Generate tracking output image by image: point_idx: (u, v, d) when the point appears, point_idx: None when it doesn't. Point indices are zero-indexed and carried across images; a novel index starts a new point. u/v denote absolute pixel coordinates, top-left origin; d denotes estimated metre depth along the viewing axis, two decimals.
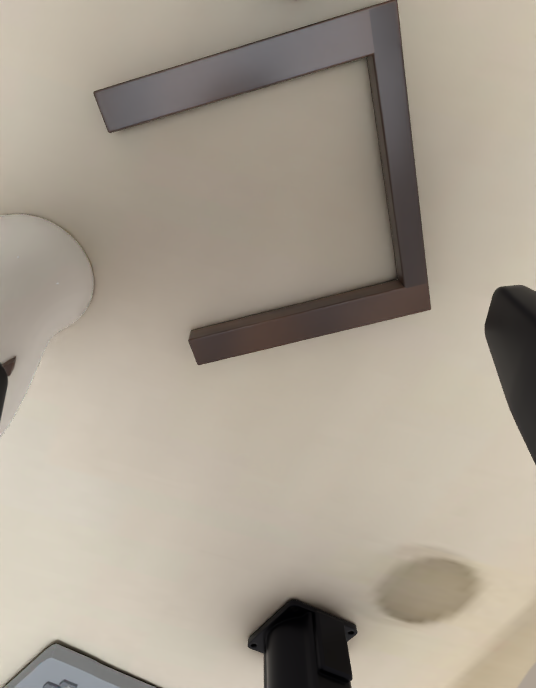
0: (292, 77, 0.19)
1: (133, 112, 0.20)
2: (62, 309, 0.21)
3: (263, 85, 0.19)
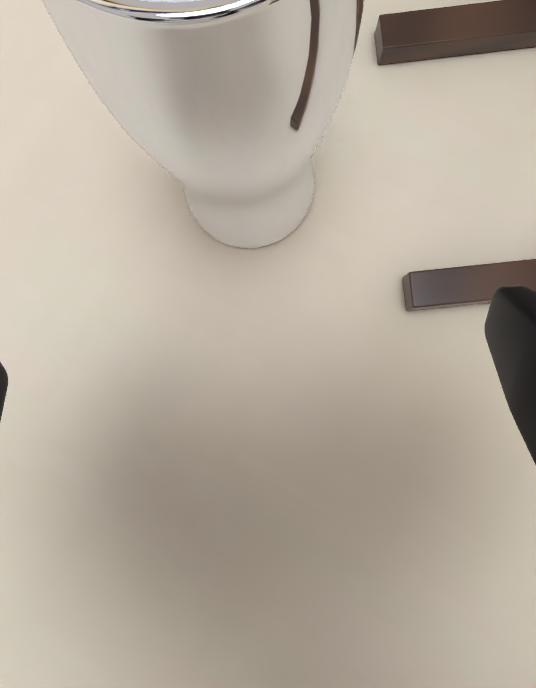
0: None
1: (411, 34, 0.21)
2: (305, 174, 0.19)
3: None
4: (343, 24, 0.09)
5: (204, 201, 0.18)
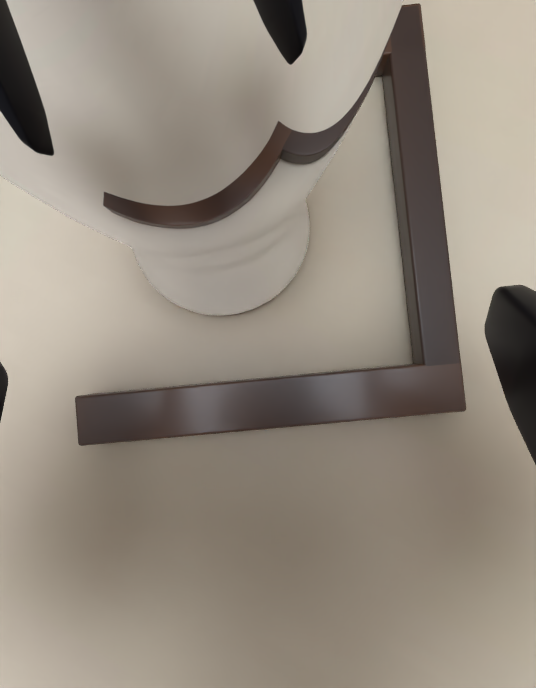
0: None
1: None
2: (295, 224, 0.13)
3: None
4: None
5: None
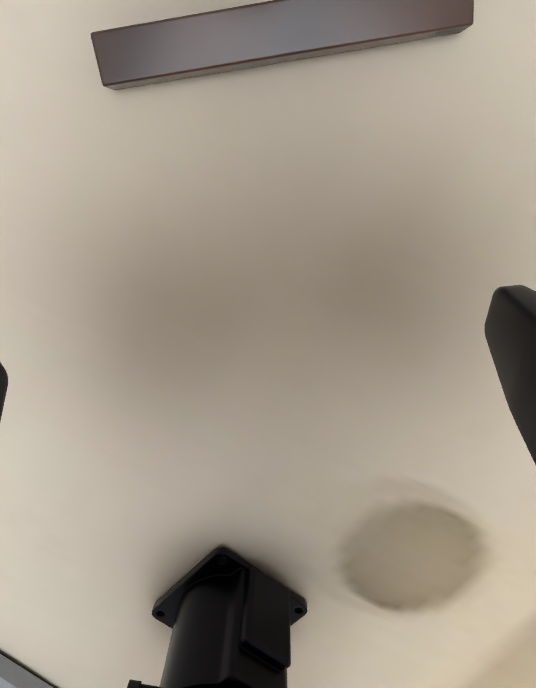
0: None
1: None
2: None
3: None
4: None
5: None
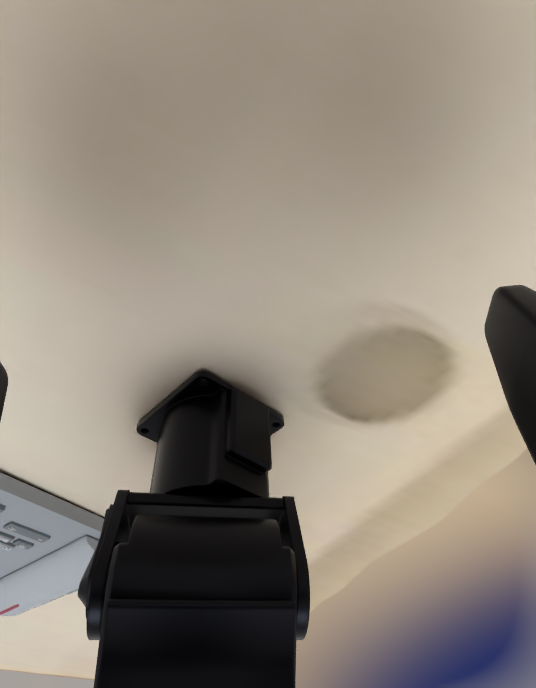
0: None
1: None
2: None
3: None
4: None
5: None
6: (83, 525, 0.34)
